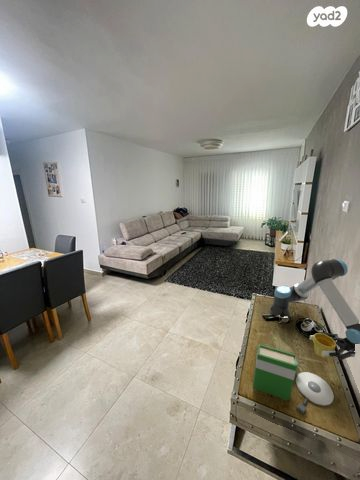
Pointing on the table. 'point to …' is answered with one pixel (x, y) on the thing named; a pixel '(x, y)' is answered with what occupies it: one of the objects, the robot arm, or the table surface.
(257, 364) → the hardback book
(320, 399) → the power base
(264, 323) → the table surface
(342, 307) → the robot arm
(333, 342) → the plant pot
